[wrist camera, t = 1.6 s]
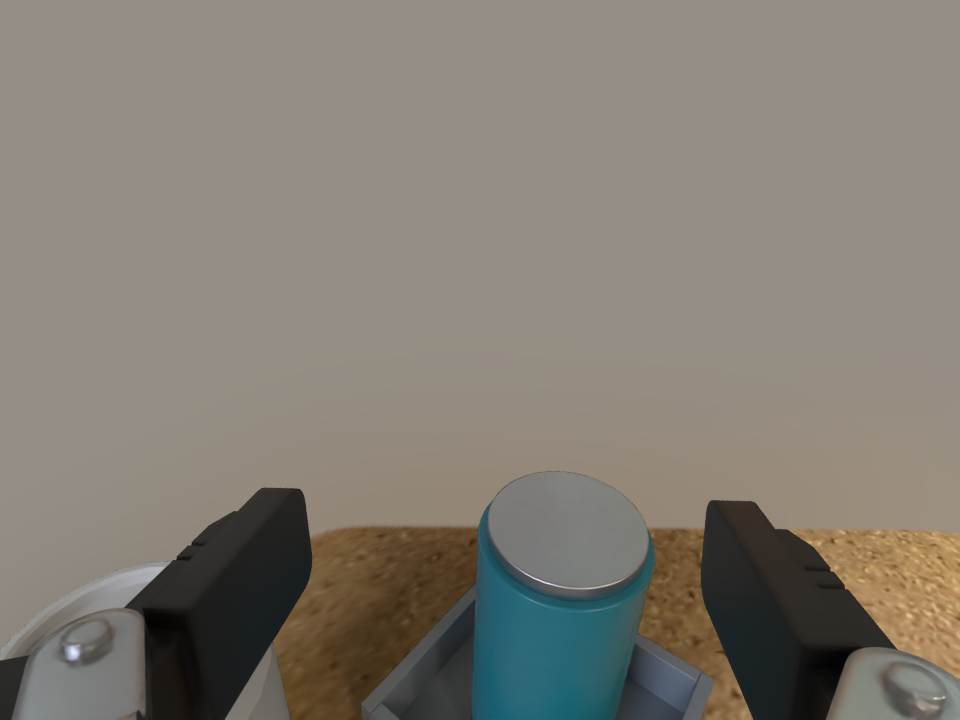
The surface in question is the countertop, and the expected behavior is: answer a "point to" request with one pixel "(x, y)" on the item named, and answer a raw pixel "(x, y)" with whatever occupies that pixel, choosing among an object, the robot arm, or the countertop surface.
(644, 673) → the gray rectangular tray
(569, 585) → the slim can
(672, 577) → the countertop surface
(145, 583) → the can
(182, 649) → the robot arm
